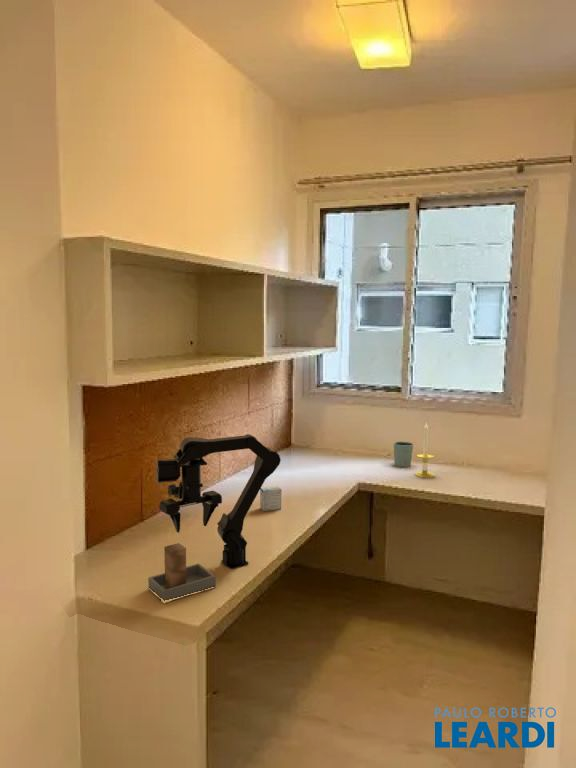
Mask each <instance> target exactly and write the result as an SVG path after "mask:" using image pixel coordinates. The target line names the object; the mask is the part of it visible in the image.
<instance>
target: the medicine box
mask: <svg viewBox="0 0 576 768" xmlns="http://www.w3.org/2000/svg"><path fill="white" fill-rule="evenodd" d="M259 495H260V496H259V498H260V499H259V502H260V503H259V506H260V510H261V511H263V512H269V511H275V510H276V511H278V510H282V488H281V487H279V486H278V485H277V486H269V487H267V486H266V487H261V488H260V490H259Z"/></svg>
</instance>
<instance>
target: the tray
mask: <svg viewBox="0 0 576 768" xmlns="http://www.w3.org/2000/svg"><path fill="white" fill-rule="evenodd" d="M147 579H148V589H149V588H150V589H151V590H152V591H153V592H155V593H156V594H157V595H158V596H159V597H160V598H162V599H163V600H164V601H165V600H169V599H173V598H177V597H181V596H184V595H187V594H191V593H194V592H198V591H202V590H205V589H208V588H211V587H215V586H216V575H215V574H213V573H212V572H211V571H209V570H208V569H206V567H204V566H202V565H201V564H200V563H195V564H192V565H188V566H186V584H183V585H179V586H176V587H173V588H169V589H167V588H166V587H165V572H163V573H160V574H157V575H152V576H149V577H148V578H147Z"/></svg>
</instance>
